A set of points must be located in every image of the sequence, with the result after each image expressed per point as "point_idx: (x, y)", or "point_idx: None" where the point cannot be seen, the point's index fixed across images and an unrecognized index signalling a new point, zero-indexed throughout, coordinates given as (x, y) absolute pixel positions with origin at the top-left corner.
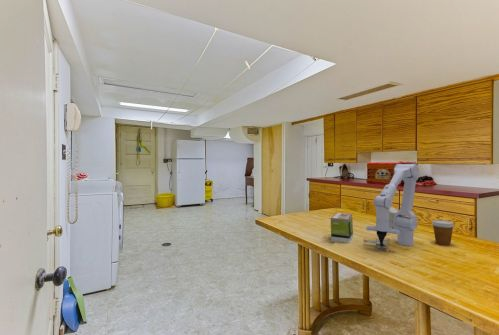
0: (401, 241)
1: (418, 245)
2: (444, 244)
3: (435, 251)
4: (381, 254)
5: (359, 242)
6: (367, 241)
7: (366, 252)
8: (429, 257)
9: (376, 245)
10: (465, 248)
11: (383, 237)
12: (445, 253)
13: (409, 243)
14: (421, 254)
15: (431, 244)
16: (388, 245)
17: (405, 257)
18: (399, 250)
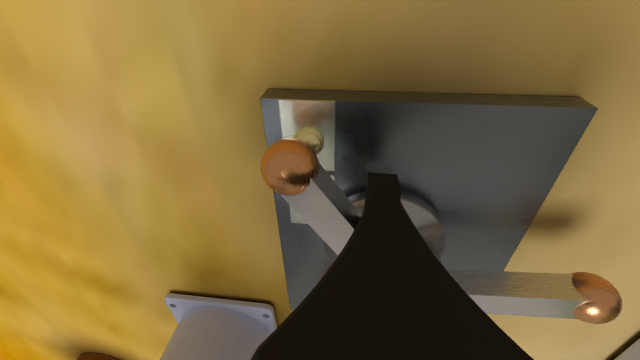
0: (229, 345)
1: None
2: (88, 357)
3: (68, 287)
4: (378, 61)
5: None
6: (559, 282)
7: (599, 40)
8: (15, 182)
9: (435, 238)
10: (20, 340)
11: (336, 300)
12: (18, 275)
13: (181, 331)
14: (86, 220)
15: (136, 353)
16: (274, 182)
17: (131, 92)
18: (236, 243)
